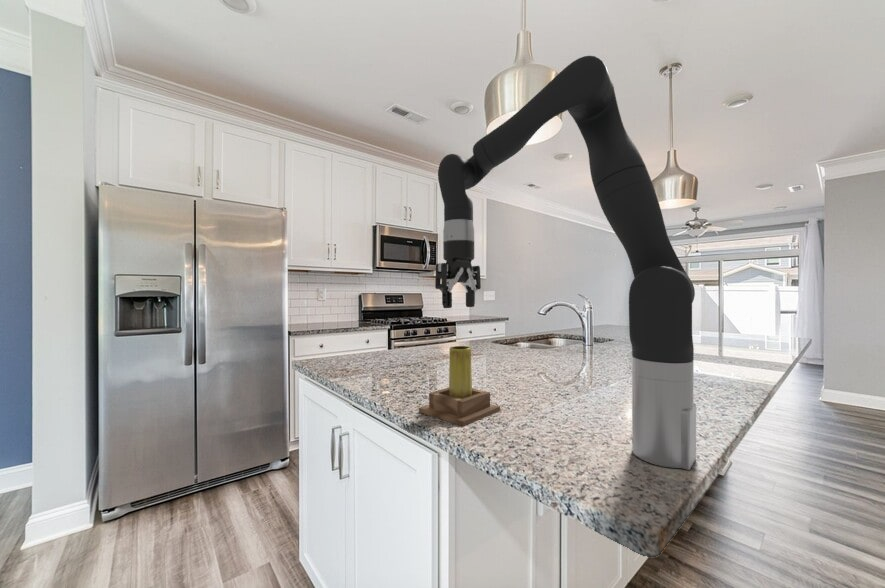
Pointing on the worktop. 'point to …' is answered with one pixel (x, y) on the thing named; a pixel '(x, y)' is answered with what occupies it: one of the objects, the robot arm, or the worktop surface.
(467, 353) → the vase
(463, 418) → the socket block
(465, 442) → the worktop surface
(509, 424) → the worktop surface
